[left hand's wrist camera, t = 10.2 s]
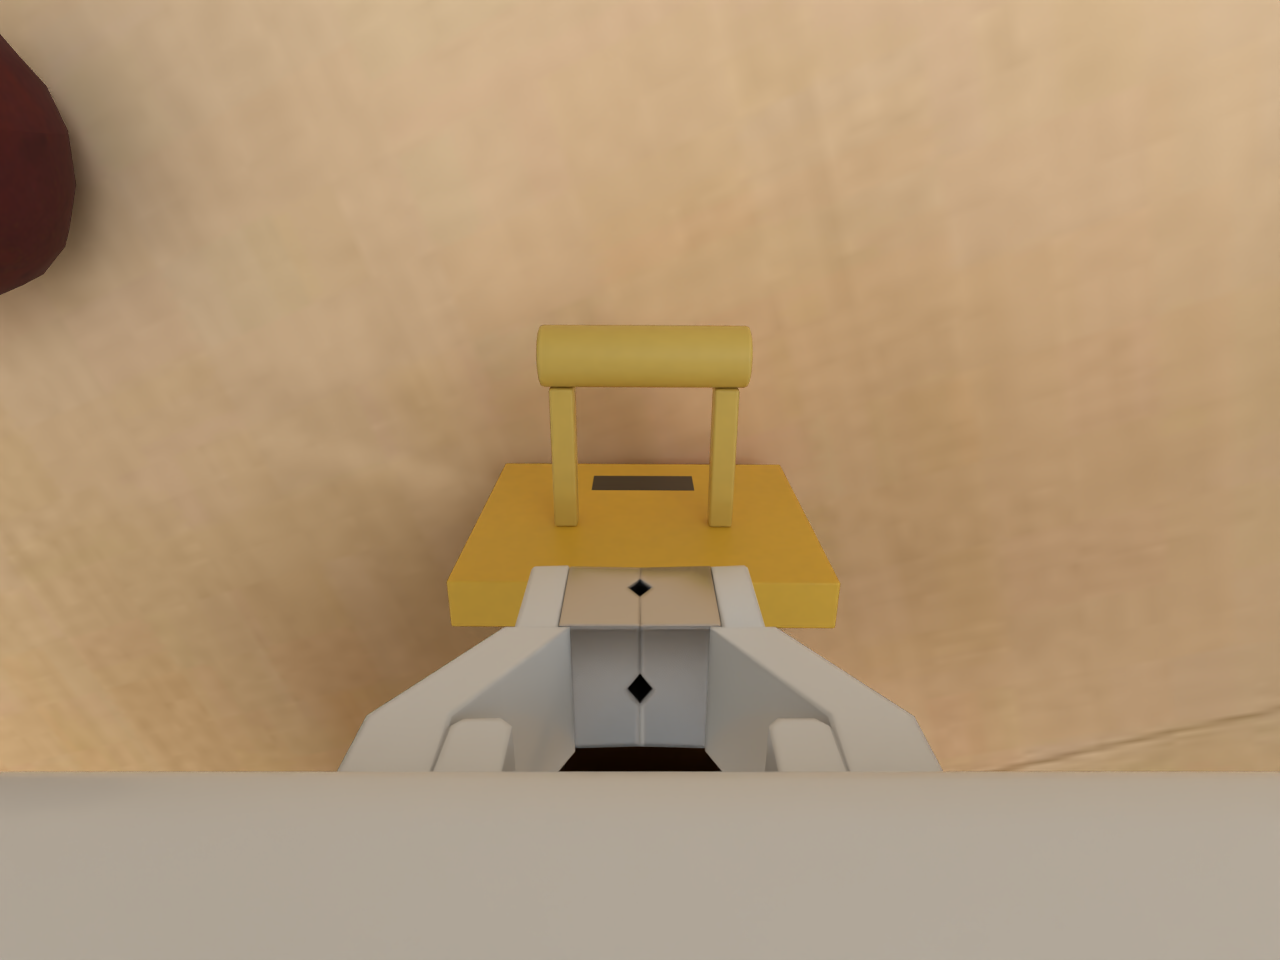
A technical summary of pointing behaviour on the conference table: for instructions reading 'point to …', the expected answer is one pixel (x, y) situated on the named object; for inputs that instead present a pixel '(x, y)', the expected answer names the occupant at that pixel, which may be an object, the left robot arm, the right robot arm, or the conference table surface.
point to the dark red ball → (31, 174)
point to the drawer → (643, 503)
